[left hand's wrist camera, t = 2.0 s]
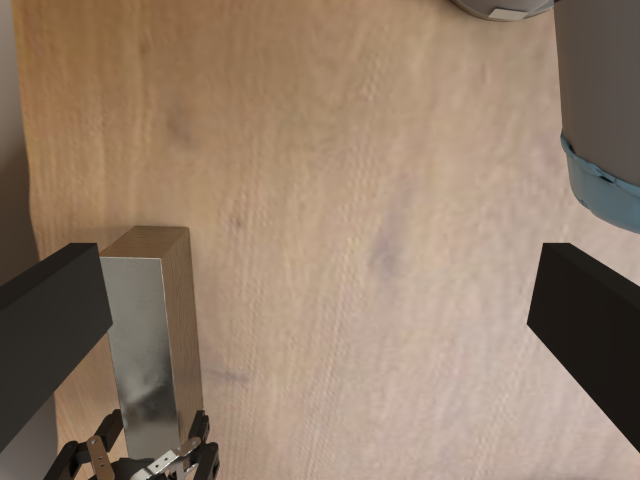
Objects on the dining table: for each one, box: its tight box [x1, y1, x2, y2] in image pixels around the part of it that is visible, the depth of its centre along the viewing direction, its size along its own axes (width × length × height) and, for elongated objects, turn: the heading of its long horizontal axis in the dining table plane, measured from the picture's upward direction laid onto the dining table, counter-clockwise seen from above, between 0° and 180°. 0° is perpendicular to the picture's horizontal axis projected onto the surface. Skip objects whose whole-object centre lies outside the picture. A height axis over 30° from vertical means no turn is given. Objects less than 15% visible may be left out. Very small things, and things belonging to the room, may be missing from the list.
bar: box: [99, 226, 203, 461], centre depth 42 cm, size 23×5×8 cm, turn 178°
